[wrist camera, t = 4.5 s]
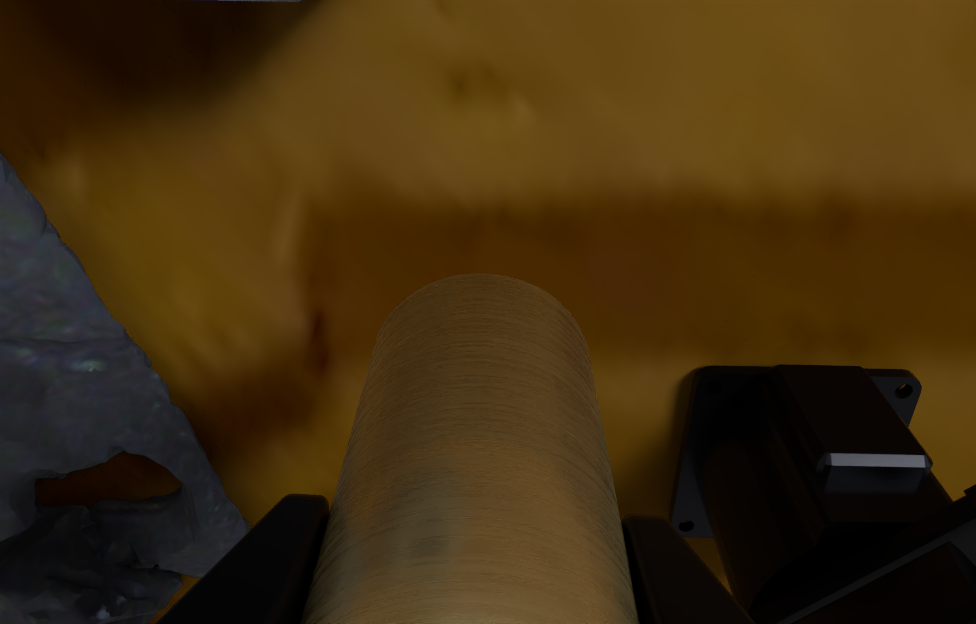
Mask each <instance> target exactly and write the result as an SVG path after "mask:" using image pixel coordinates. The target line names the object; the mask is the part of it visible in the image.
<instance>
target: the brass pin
mask: <svg viewBox="0 0 976 624" xmlns="http://www.w3.org/2000/svg"><path fill="white" fill-rule="evenodd" d="M300 624H640V620H639V615H638V609H637V604H636V599H635V594H634V588H633V583H632V578H631V572H630V567H629V562H628V557H627V551H626V546H625V541H624V535H623V530H622V525H621V520H620V514H619V509H618V504H617V498H616V493H615V488H614V483H613V477H612V472H611V467H610V461H609V456H608V451H607V446H606V440H605V435H604V430H603V424H602V419H601V414H600V409H599V403H598V398H597V393H596V387H595V382H594V377H593V372H592V366H591V361H590V356H589V351H588V347H587V343H586V340H585V337H584V335H583V332H582V330H581V328H580V326H579V325H578V323H577V321H576V320H575V318H574V317H573V316H572V315H571V313H570V312H569V311H568V310H567V308H565V307H564V306H563V305H562V304H561V303H560V302H559V301H558V300H557V299H556V298H554V297H553V296H551V295H550V294H548V293H547V292H546V291H544V290H542V289H540V288H538V287H536V286H535V285H533V284H530V283H528V282H525V281H522V280H520V279H516V278H512V277H508V276H504V275H497V274H489V273H471V274H462V275H456V276H452V277H447V278H443V279H440V280H438V281H435V282H432V283H430V284H428V285H426V286H424V287H422V288H420V289H418V290H416V291H415V292H413V293H412V294H411V295H409V296H408V297H406V298H405V299H404V300H403V301H402V302H401V303H400V304H398V305H397V306H396V307H395V308H394V310H393V311H392V312H391V313H390V315H389V316H388V317H387V319H386V320H385V322H384V324H383V325H382V327H381V329H380V332H379V334H378V336H377V339H376V342H375V346H374V350H373V354H372V357H371V361H370V365H369V368H368V372H367V376H366V380H365V383H364V387H363V391H362V395H361V398H360V402H359V406H358V409H357V413H356V417H355V421H354V424H353V428H352V432H351V436H350V439H349V443H348V447H347V450H346V454H345V458H344V462H343V465H342V469H341V473H340V477H339V480H338V484H337V488H336V491H335V495H334V499H333V503H332V506H331V510H330V514H329V518H328V521H327V525H326V529H325V532H324V536H323V540H322V544H321V547H320V551H319V555H318V558H317V562H316V566H315V570H314V573H313V577H312V581H311V585H310V588H309V592H308V596H307V599H306V603H305V607H304V611H303V614H302V618H301V622H300Z"/></svg>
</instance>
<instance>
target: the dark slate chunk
mask: <svg viewBox="0 0 976 624" xmlns="http://www.w3.org/2000/svg"><path fill="white" fill-rule="evenodd" d="M151 364H152V362H151V361H150V360H149V359H148V358H147V356H146V354H145V352H144V351H143V350H142V349H141V348H140V347H139V346H138V345H137V344H136V343H135V342H134V341H133V340H132V339H131V338H130V337H129V336H128V334H127V332H126V330H125V328H124V327H123V326H122V325H121V324H120V323H118V322H117V321H116V320H115V319H113V317H112V316H111V315H110V313H109V312H108V310H107V309H106V307H105V306H104V304H103V303H102V301H101V300H100V298H99V297H98V295H97V294H96V292H95V291H94V289H93V286H92V284H91V282H90V280H89V278H88V277H87V275H86V273H85V271H84V269H83V266H82V264H81V262H80V260H79V259H78V257H77V256H76V254H75V253H74V252H73V251H72V250H71V249H70V248H69V247H68V246H67V245H65V243H63V242H62V241H61V240H60V236H59V234H58V232H57V230H56V229H55V228H54V226H53V225H52V224H51V223H50V222H49V221H48V220H47V219H46V215H45V212H44V210H43V208H42V206H41V204H40V203H39V201H38V200H37V199H36V198H35V197H34V196H33V195H32V194H31V193H30V192H29V191H28V190H27V188H26V186H25V185H24V184H23V183H22V182H20V180H19V179H18V175H17V172H16V171H15V170H14V168H13V167H12V166H11V165H10V164H9V163H8V161H7V160H6V159H5V157H4V156H3V155H2V154H1V152H0V624H149V623H150V622H151V620H152V619H153V618H154V617H155V615H156V613H157V612H158V611H159V610H161V609H163V608H164V607H165V606H166V605H167V603H168V602H169V600H170V599H171V597H172V596H173V595H174V594H175V592H176V591H177V590H178V589H179V588H180V587H181V586H182V585H183V582H182V580H181V578H180V576H179V575H178V574H179V573H180V574H183V575H187V576H192V577H199V578H202V577H203V576H204V575H205V574H206V573H207V572H208V571H209V570H210V569H211V568H212V567H213V566H214V565H215V564H216V563H217V562H218V561H219V560H220V559H221V558H222V557H223V556H224V555H225V554H226V553H227V552H228V551H229V550H230V549H231V548H232V547H233V546H234V545H236V544H237V543H238V542H239V541H240V540H241V539H242V538H243V537H244V536H245V535H246V534H247V533H248V532H249V531H250V525H249V523H248V522H247V521H246V520H245V519H244V518H243V517H242V516H241V513H240V511H239V509H238V508H237V506H236V505H235V504H234V503H233V502H232V501H231V500H230V499H229V498H228V497H227V496H226V495H225V493H224V490H223V486H222V482H221V479H220V478H219V476H218V475H217V474H216V473H215V472H214V470H213V469H212V467H211V464H210V462H209V460H208V457H207V455H206V453H205V451H204V450H203V448H202V446H201V445H200V443H199V441H198V439H197V437H196V434H195V432H194V430H193V428H192V426H191V424H190V422H189V421H188V419H187V417H186V415H185V414H184V412H183V411H182V410H181V409H180V408H179V407H177V406H176V405H175V404H174V403H173V402H171V398H170V392H169V388H168V386H167V384H166V383H165V382H164V381H163V380H162V379H161V378H160V377H159V375H158V374H157V373H156V372H155V371H154V370H152V369H151V368H150V366H151ZM123 451H126V452H128V453H131V454H139V455H144V456H146V457H148V458H150V459H152V460H153V461H155V462H156V463H158V464H160V465H162V466H164V467H165V468H167V469H168V470H169V471H170V472H171V473H172V474H173V475H174V476H175V477H176V478H177V479H178V480H180V481H181V482H182V486H181V487H180V488H179V489H178V490H176V491H175V492H173V493H171V494H169V495H166V496H155V497H150V498H149V499H144V500H136V501H125V500H119V499H104V500H101V501H98V502H97V503H96V504H95V505H94V506H93V507H92V508H91V509H90V510H88V509H87V508H86V507H85V506H83V505H82V506H77V505H65V506H59V507H46V506H43V505H41V504H39V503H37V502H34V501H35V500H36V498H37V497H38V496H37V495H36V494H35V482H36V480H37V479H40V478H56V477H58V478H59V479H63V478H65V477H66V475H67V474H68V473H69V472H71V471H77V470H81V469H86V468H90V467H93V466H95V465H97V464H99V463H105V462H107V461H108V460H109V459H110V458H112V457H113V456H115V455H116V454H118V453H120V452H123ZM168 570H170V571H172V572H168Z"/></svg>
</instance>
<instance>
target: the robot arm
mask: <svg viewBox="0 0 976 624" xmlns="http://www.w3.org/2000/svg"><path fill="white" fill-rule="evenodd" d="M713 380H716V381H718V383H717V384H716V385H714V386H711V387H707V386H706V384H707V383H708V382H710V381H713ZM904 384H906V385H905V386H904V388H902V389H900V390H896V389H897V387H899V386H901V385H904ZM921 388H922V386H921V384H920V382H919V380H918V379H917V378H916V377H915V376H914V374H913V373H911V372H910V371H908V370H903V369H863V368H862V367H860V366H826V365H776V366H773V367H760V366H706V367H704V368H702V369H700V370H699V371H698V372H697V373H696V374H695V376H694V379H693V384H692V389H691V395H690V400H689V406H688V412H687V417H686V423H685V428H684V434H683V439H682V445H681V451H680V456H679V462H678V467H677V473H676V479H675V484H674V490H673V495H672V501H671V507H670V512H669V521H668V520H667V519H665V518H664V517H662V516H659V515H642V514H628V515H626V516H625V517H624V518H623V520H622V522H621V525H622V530H623V535H624V541H625V546H626V551H627V557H628V562H629V567H630V572H631V578H632V583H633V588H634V594H635V599H636V604H637V609H638V615H639V620H640V624H976V484H975V485H974V486H972V487H970V488H968V489H966V490H964V493H965V494H966V495H965V496H963V497H961V498H959V499H958V500H956V501H954V502H953V500H952V499H951V497H950V496H949V495H948V493H947V492H946V491H945V489H944V488H943V486H942V485H941V484H940V482H939V481H938V480H937V478H936V477H935V476H934V474H933V473H932V471H931V467H932V465H933V462H932V459H931V458H930V456H929V455H928V454H927V452H926V451H925V450H924V448H923V447H922V446H921V444H920V443H919V442H918V440H917V439H916V438H915V436H914V435H913V434H912V432H911V431H910V430H909V428H908V426H909V424H910V421H911V418H912V415H913V413H914V410H915V407H916V404H917V402H918V399H919V396H920V393H921ZM895 390H896V391H895ZM328 518H329V503H328V501H327V499H326V498H325V497H324V496H321V495H306V494H289V495H287V496H285V497H283V498H282V499H281V500H280V501H279V502H278V503H277V504H276V505H275V506H274V507H273V508H272V509H271V510H270V511H269V512H268V513H267V514H266V515H265V516H264V517H263V518H262V519H261V520H260V521H259V522H258V523H257V524H256V525H255V526H254V527H253V528H252V529H251V530H250V531H249V532H248V533H247V534H246V535H245V536H244V537H243V538H242V539H241V540H240V541H239V542H238V543H237V544H236V545H234V546H233V547H232V548H231V549H230V550H229V551H228V552H227V553H226V554H225V555H224V556H223V557H222V558H221V559H220V560H219V561H218V562H217V563H216V564H215V565H214V566H213V567H212V568H211V569H210V570H209V571H208V572H207V573H206V574H205V575H204V576H203V577H202V578H201V579H200V580H199V581H198V582H197V583H196V584H195V585H194V586H193V587H192V588H191V589H190V590H189V591H188V592H187V593H186V594H185V595H184V596H183V597H182V598H181V599H180V600H179V601H178V602H177V603H176V604H175V605H174V606H173V607H172V608H171V609H170V610H169V611H168V612H167V613H166V614H165V615H164V616H163V617H162V618H161V619H160V620H159V621H158V622H157V623H156V624H300V622H301V618H302V614H303V611H304V607H305V603H306V599H307V596H308V592H309V588H310V585H311V581H312V577H313V573H314V570H315V566H316V562H317V558H318V555H319V551H320V547H321V544H322V540H323V536H324V532H325V529H326V525H327V521H328ZM686 520H689V521H688V522H685V523H681V522H682V521H686ZM683 537H700V538H714V540H715V543H716V546H717V549H718V552H719V555H720V558H721V561H722V564H723V567H724V570H725V573H726V577H727V580H728V583H729V586H730V589H731V592H732V595H733V596H732V595H731V594H730V593H729V592H728V590H727V589H726V588H725V587H724V586H723V585H722V583H721V582H720V581H719V580H718V579H717V577H716V576H715V575H714V574H713V573H712V572H711V570H710V569H709V568H708V567H707V566H706V564H705V563H704V562H703V561H702V560H701V559H700V557H699V556H698V555H697V554H696V553H695V551H694V550H693V549H692V548H691V547H690V546H689V544H688V543H687V542H686V541H685V540H684V539H683Z"/></svg>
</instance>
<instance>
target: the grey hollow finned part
mask: <svg viewBox="0 0 976 624" xmlns="http://www.w3.org/2000/svg"><path fill="white" fill-rule="evenodd" d="M220 1H277V2H299V1H301V0H220Z"/></svg>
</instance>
